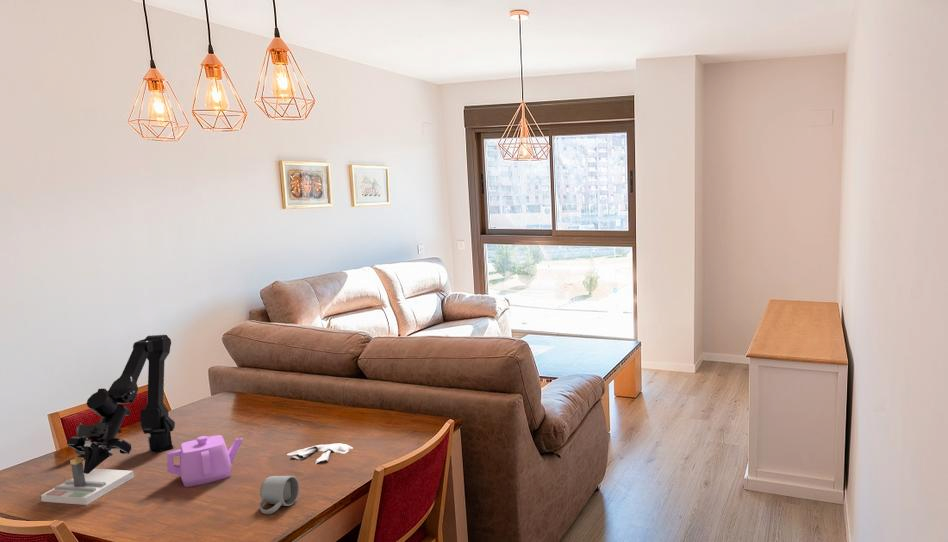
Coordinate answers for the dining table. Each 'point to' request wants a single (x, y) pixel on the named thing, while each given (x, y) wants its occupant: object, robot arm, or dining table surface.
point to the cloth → (325, 456)
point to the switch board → (88, 487)
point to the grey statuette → (81, 454)
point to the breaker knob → (78, 472)
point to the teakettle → (203, 460)
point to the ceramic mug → (278, 492)
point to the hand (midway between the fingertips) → (85, 473)
